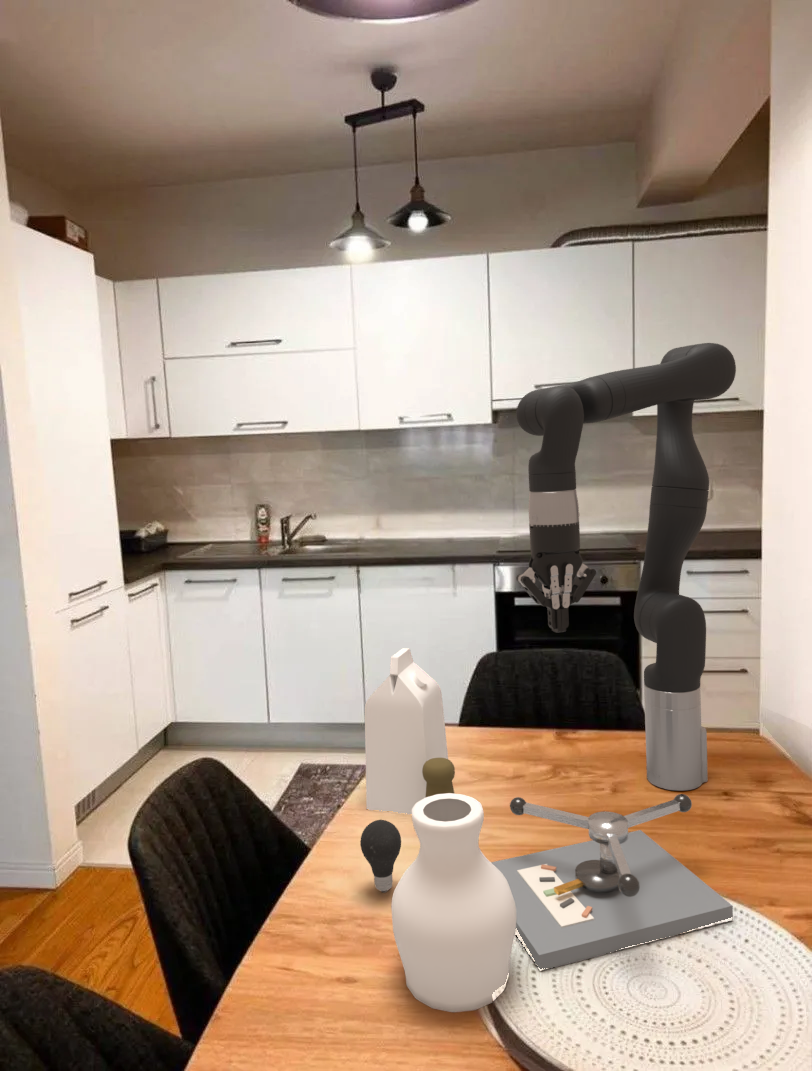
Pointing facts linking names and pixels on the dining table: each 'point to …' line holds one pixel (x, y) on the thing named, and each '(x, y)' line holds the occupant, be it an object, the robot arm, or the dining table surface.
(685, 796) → the capstan
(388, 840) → the light bulb
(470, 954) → the vase
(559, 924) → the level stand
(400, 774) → the milk
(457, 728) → the dining table surface
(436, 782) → the cork
